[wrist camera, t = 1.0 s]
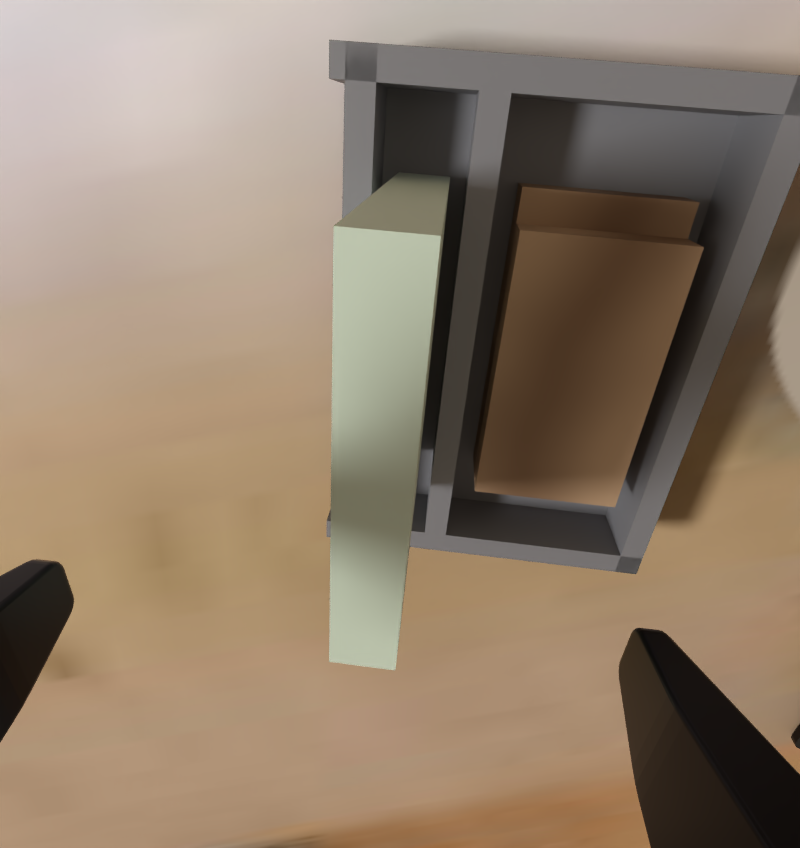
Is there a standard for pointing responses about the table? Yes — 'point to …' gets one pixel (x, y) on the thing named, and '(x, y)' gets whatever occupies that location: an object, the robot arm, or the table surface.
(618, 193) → the offcut low
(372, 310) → the board
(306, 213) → the table surface
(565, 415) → the offcut top
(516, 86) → the rack
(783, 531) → the table surface
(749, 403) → the table surface
